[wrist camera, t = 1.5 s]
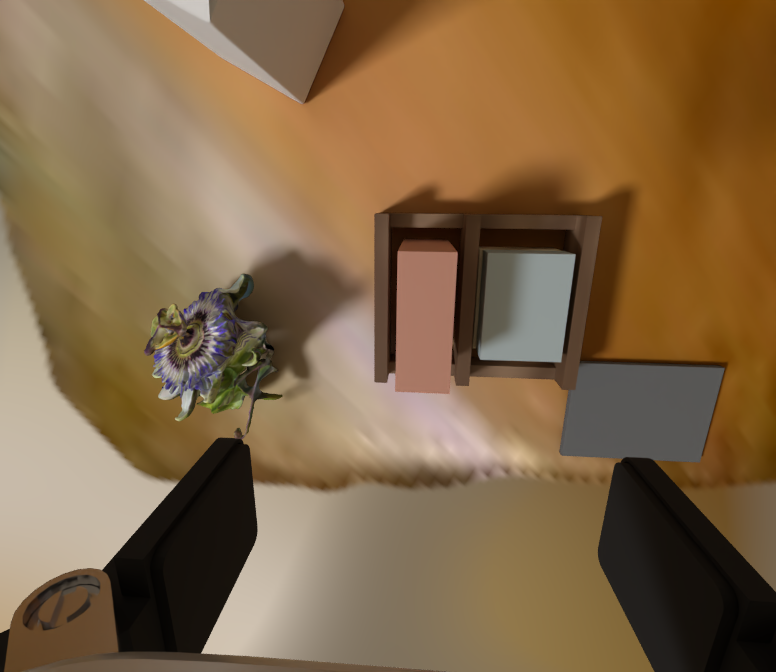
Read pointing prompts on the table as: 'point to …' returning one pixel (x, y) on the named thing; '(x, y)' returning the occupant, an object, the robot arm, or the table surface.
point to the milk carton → (262, 36)
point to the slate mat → (640, 410)
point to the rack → (577, 241)
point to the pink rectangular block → (425, 315)
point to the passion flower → (211, 352)
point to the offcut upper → (524, 304)
